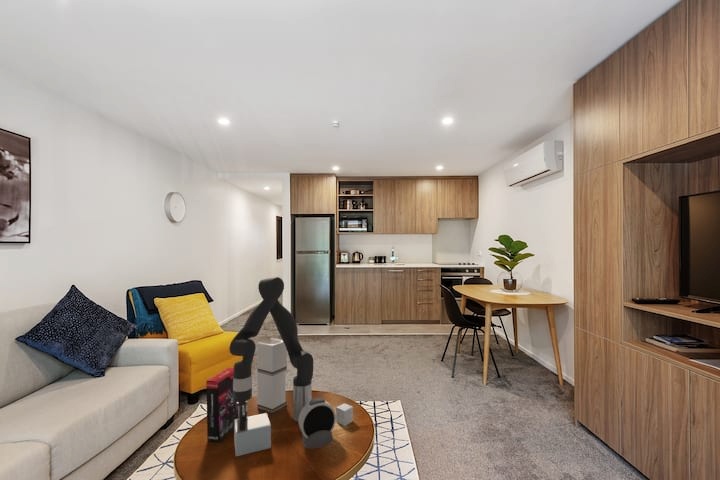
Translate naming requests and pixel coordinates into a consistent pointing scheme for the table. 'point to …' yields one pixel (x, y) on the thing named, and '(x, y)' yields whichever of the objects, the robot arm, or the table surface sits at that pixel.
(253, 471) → the table surface
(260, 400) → the grey square tower
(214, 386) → the graphics card box
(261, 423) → the carton
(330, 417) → the alarm clock
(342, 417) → the product box
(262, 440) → the grey flat panel
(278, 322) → the robot arm
